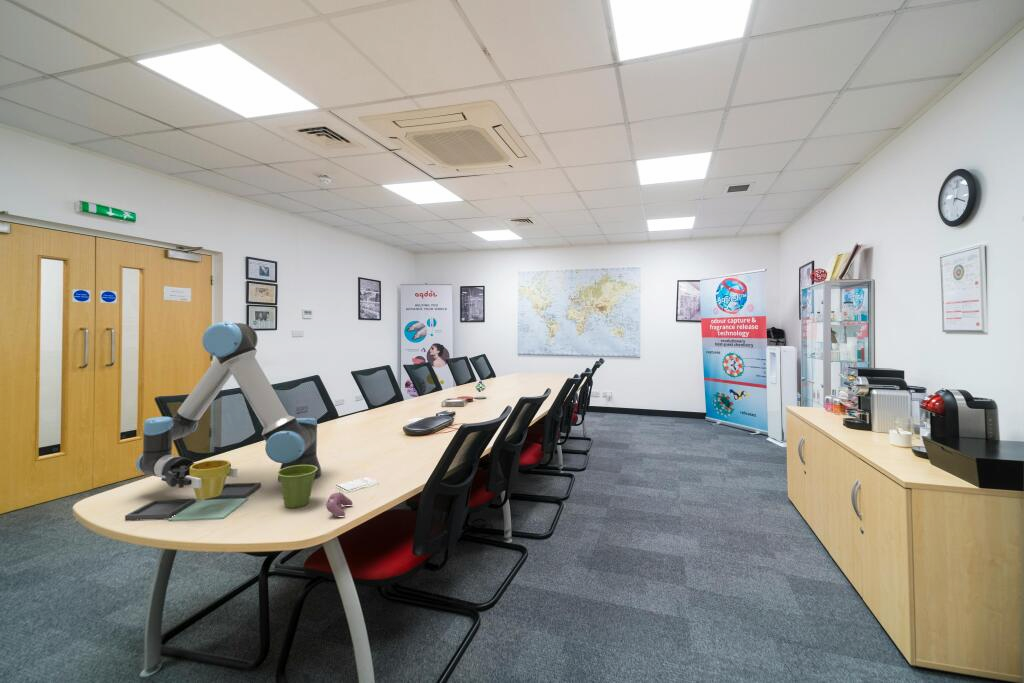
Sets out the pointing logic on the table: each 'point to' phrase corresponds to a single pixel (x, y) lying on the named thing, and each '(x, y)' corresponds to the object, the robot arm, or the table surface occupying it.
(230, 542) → the table surface
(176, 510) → the tray
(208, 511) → the pad
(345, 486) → the white flat block
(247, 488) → the tray
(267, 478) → the table surface
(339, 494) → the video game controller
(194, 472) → the plant pot
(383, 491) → the table surface
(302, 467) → the plant pot
